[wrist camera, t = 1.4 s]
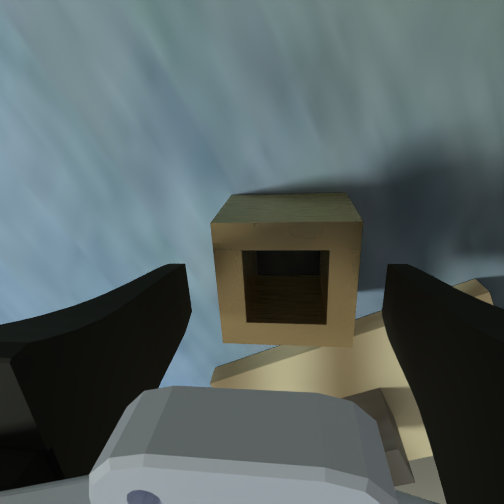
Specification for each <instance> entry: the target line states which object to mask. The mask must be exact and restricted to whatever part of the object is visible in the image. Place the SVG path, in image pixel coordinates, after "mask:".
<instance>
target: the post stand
mask: <svg viewBox="0 0 504 504" xmlns="http://www.w3.org/2000/svg"><path fill="white" fill-rule="evenodd" d="M453 287H454V288H456V289H458V290H460V291H462V292H464V293H467V294H469V295H471V296H473V297H475V298H478V299H480V300H482V301H484V302H487V303H489V304H492V305H493V302H492V299H491V295H490V292H489V291H488V290H487V289H486V288H485V287H484V286H482V285H481V284H480V283H479V282H478V281H477V280H476V279H473V280H470V281H467V282H464V283H461V284H458V285H455V286H453ZM210 385H211V386H212V387H213V388H231V389H252V390H272V391H292V392H313V393H321V394H325V395H329V396H333V397H337V398H341V399H345V400H349V401H352V402H354V403H355V404H356V405H358V406H359V407H360V408H361V409H362V410H364V411H365V412H366V413H367V414H368V415H370V416H371V417H372V418H373V419H374V420H376V421H377V425H378V429H379V432H380V436H381V440H382V444H383V447H384V451H385V455H386V458H387V462H388V466H389V470H390V473H391V477H392V481H393V485H394V486H399V485H404V484H410V483H415V480H414V477H413V474H412V471H411V468H410V465H409V460H414V459H419V458H424V457H429V456H433V453H432V450H431V446H430V443H429V440H428V436H427V433H426V430H425V427H424V424H423V421H422V418H421V415H420V412H419V408H418V406H417V403H416V401H415V398H414V396H413V393H412V391H411V389H410V386H409V384H408V382H407V380H406V378H405V375H404V373H403V371H402V369H401V367H400V364H399V362H398V360H397V358H396V355H395V353H394V351H393V349H392V346H391V344H390V342H389V339H388V336H387V333H386V329H385V326H384V322H383V318H382V311H380V312H377V313H374V314H371V315H368V316H365V317H362V318H359V319H356V320H355V325H354V337H353V348H349V347H322V346H294V345H280V346H277V347H275V348H272V349H269V350H266V351H263V352H260V353H257V354H254V355H251V356H248V357H245V358H242V359H240V360H237V361H234V362H231V363H228V364H225V365H222V366H219V367H216V368H215V369H214V372H213V376H212V379H211V382H210Z"/></svg>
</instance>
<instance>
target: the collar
mask: <svg viewBox="0 0 504 504" xmlns="http://www.w3.org/2000/svg"><path fill="white" fill-rule="evenodd" d="M210 224H211V234H212V243H213V253H214V262H215V272H216V281H217V291H218V300H219V310H220V319H221V329H222V338H223V343H238V344H266V345H294V346H322V347H349V348H353V337H354V325H355V313H356V301H357V289H358V277H359V265H360V253H361V241H362V229H363V220H362V219H361V217H360V215H359V214H358V212H357V210H356V209H355V207H354V205H353V204H352V202H351V200H350V199H349V197H348V196H347V194H346V193H303V194H259V195H231V196H230V197H229V199H228V200H227V201H226V203H225V204H224V205H223V207H222V208H221V210H220V211H219V212H218V214H217V215H216V216H215V218H214V219H213V220H212V222H211V223H210ZM256 250H320V270H319V275H257V259H256Z"/></svg>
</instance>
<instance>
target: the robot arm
mask: <svg viewBox="0 0 504 504" xmlns="http://www.w3.org/2000/svg"><path fill="white" fill-rule="evenodd" d="M191 312H192V308H191V301H190V294H189V287H188V280H187V273H186V266H185V264H167V265H164V266H162V267H159V268H157V269H155V270H153V271H151V272H149V273H147V274H145V275H143V276H141V277H139V278H137V279H135V280H133V281H131V282H129V283H127V284H125V285H123V286H121V287H119V288H116V289H114V290H112V291H110V292H108V293H106V294H103V295H101V296H99V297H96V298H94V299H91V300H88V301H86V302H83V303H80V304H77V305H75V306H72V307H68V308H65V309H62V310H58V311H55V312H51V313H48V314H45V315H41V316H37V317H33V318H29V319H25V320H21V321H16V322H11V323H6V324H2V325H0V504H439V503H436V502H432V501H429V500H426V499H423V498H420V497H417V496H413V495H410V494H407V493H404V492H401V491H398V490H395V488H394V485H393V481H392V477H391V473H390V470H389V466H388V462H387V458H386V455H385V451H384V447H383V444H382V440H381V436H380V432H379V429H378V425H377V421H376V420H374V419H373V418H372V417H371V416H370V415H368V414H367V413H366V412H365V411H364V410H362V409H361V408H360V407H359V406H358V405H356V404H355V403H354V402H352V401H349V400H345V399H341V398H337V397H333V396H329V395H325V394H321V393H313V392H292V391H272V390H252V389H231V388H211V387H191V386H170V387H164V388H158V387H159V385H160V383H161V381H162V379H163V377H164V375H165V373H166V371H167V369H168V367H169V365H170V363H171V361H172V359H173V357H174V355H175V353H176V351H177V349H178V347H179V344H180V342H181V340H182V338H183V336H184V334H185V331H186V328H187V325H188V322H189V319H190V316H191ZM382 318H383V322H384V326H385V329H386V333H387V336H388V339H389V342H390V344H391V346H392V349H393V351H394V353H395V355H396V358H397V360H398V362H399V364H400V367H401V369H402V371H403V373H404V375H405V378H406V380H407V382H408V384H409V386H410V389H411V391H412V393H413V396H414V398H415V401H416V403H417V406H418V408H419V412H420V415H421V418H422V421H423V424H424V427H425V430H426V433H427V436H428V440H429V443H430V446H431V450H432V453H433V456H434V460H435V463H436V466H437V470H438V473H439V477H440V481H441V485H442V488H443V492H444V496H445V499H446V503H447V504H504V309H502V308H499V307H497V306H494V305H492V304H489V303H487V302H484V301H482V300H480V299H478V298H475V297H473V296H471V295H469V294H467V293H464V292H462V291H460V290H458V289H456V288H454V287H452V286H450V285H448V284H446V283H444V282H442V281H441V280H439V279H437V278H435V277H433V276H431V275H429V274H427V273H425V272H423V271H421V270H419V269H417V268H415V267H413V266H411V265H408V264H388V266H387V274H386V283H385V291H384V299H383V308H382Z"/></svg>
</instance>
